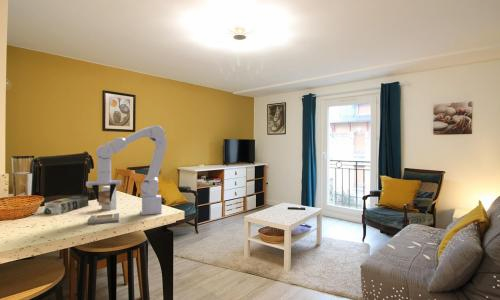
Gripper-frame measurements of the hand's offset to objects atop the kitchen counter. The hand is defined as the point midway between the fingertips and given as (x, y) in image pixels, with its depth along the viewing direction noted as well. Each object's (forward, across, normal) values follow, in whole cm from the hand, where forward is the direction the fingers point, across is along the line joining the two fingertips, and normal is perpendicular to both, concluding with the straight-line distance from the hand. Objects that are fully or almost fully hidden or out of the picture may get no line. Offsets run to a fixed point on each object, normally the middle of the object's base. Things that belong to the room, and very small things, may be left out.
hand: (104, 201), depth 131 cm
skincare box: (+9, -1, -21) cm, 23 cm away
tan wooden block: (+2, 0, 0) cm, 2 cm away
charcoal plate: (+8, 0, +1) cm, 8 cm away
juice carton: (+9, +19, -27) cm, 34 cm away
